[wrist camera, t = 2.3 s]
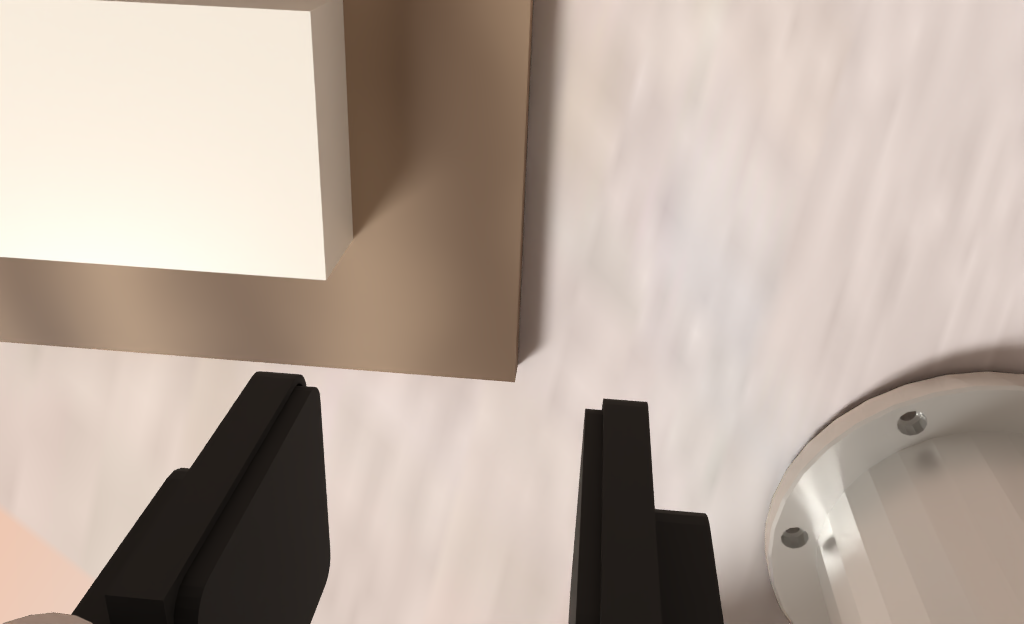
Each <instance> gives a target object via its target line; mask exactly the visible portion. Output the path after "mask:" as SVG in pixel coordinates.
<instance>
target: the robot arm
mask: <svg viewBox="0 0 1024 624" xmlns="http://www.w3.org/2000/svg"><path fill="white" fill-rule="evenodd" d="M765 556H766V561H767V566H768V571H769V576H770V582H771V585H772V587H773V590H774V593H775V595H776V598H777V601H778V603H779V606H780V608H781V610H782V611H783V613H784V614H785V616H786V617H787V619H788V620H789V621H790V623H791V624H1024V374H1013V373H1000V372H975V373H963V374H951V375H943V376H939V377H935V378H931V379H927V380H923V381H918V382H914V383H910V384H906V385H903V386H901V387H898V388H896V389H893V390H891V391H889V392H886V393H884V394H881V395H879V396H876V397H874V398H871V399H869V400H867V401H865V402H864V403H862V404H860V405H859V406H857V407H855V408H854V409H852V410H850V411H849V412H847V413H845V414H844V415H842V416H840V417H839V418H837V419H836V420H834V421H833V422H832V423H831V424H830V425H828V426H827V427H826V428H825V429H824V430H823V431H821V432H820V433H819V434H818V435H817V436H816V437H815V438H813V439H812V440H811V441H810V442H809V443H808V444H807V445H806V446H805V447H804V449H803V450H802V451H801V452H800V454H799V455H798V456H797V457H796V459H795V460H794V461H793V462H792V464H791V465H790V466H789V467H788V469H787V470H786V472H785V474H784V476H783V478H782V480H781V482H780V483H779V485H778V487H777V489H776V491H775V493H774V495H773V497H772V501H771V505H770V508H769V512H768V516H767V520H766V524H765ZM329 567H330V540H329V525H328V509H327V494H326V479H325V464H324V448H323V433H322V418H321V402H320V393H319V390H318V389H317V388H316V387H307V386H306V382H305V379H304V377H303V376H302V375H299V374H287V373H274V372H261V371H259V372H256V373H255V374H254V375H253V376H252V378H251V379H250V381H249V382H248V384H247V385H246V386H245V388H244V389H243V391H242V392H241V394H240V395H239V397H238V398H237V400H236V401H235V403H234V404H233V406H232V407H231V409H230V410H229V412H228V413H227V415H226V416H225V418H224V419H223V420H222V422H221V423H220V425H219V426H218V428H217V429H216V431H215V432H214V434H213V435H212V437H211V438H210V440H209V441H208V443H207V444H206V446H205V447H204V449H203V450H202V451H201V453H200V454H199V456H198V457H197V459H196V460H195V462H194V463H193V465H192V466H191V468H190V469H188V468H180V469H177V470H174V471H173V472H172V473H171V475H170V476H169V477H168V478H167V479H166V480H165V482H164V483H163V485H162V486H161V488H160V489H159V490H158V492H157V493H156V495H155V496H154V498H153V499H152V500H151V502H150V503H149V505H148V506H147V507H146V509H145V510H144V512H143V513H142V515H141V516H140V517H139V519H138V520H137V522H136V523H135V525H134V526H133V527H132V529H131V530H130V532H129V533H128V534H127V536H126V537H125V539H124V540H123V542H122V543H121V544H120V546H119V547H118V549H117V550H116V552H115V553H114V554H113V556H112V557H111V559H110V560H109V562H108V563H107V564H106V566H105V567H104V569H103V570H102V571H101V573H100V574H99V576H98V577H97V579H96V580H95V581H94V583H93V584H92V586H91V587H90V589H89V590H88V591H87V593H86V594H85V596H84V597H83V599H82V600H81V601H80V603H79V604H78V606H77V607H76V609H75V610H74V611H73V613H72V614H71V615H69V614H61V613H46V614H36V615H29V616H25V617H22V618H19V619H15V620H12V621H9V622H5V623H3V624H310V623H311V621H312V618H313V616H314V613H315V610H316V608H317V605H318V603H319V600H320V597H321V595H322V592H323V590H324V587H325V584H326V581H327V578H328V573H329ZM569 624H724V622H723V615H722V608H721V601H720V594H719V587H718V580H717V573H716V566H715V559H714V552H713V545H712V538H711V531H710V525H709V520H708V517H707V515H706V514H705V513H694V512H682V511H671V510H659V509H655V506H654V491H653V475H652V459H651V444H650V428H649V413H648V403H647V402H639V401H627V400H614V399H603V405H602V410H593V409H585V418H584V430H583V443H582V455H581V467H580V479H579V492H578V504H577V516H576V528H575V541H574V553H573V565H572V577H571V591H570V607H569Z"/></svg>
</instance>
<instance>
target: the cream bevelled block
mask: <svg viewBox="0 0 1024 624" xmlns="http://www.w3.org/2000/svg"><path fill="white" fill-rule="evenodd" d="M352 240H353V223H352V200H351V177H350V154H349V131H348V108H347V85H346V62H345V39H344V16H343V0H0V257H9V258H23V259H37V260H51V261H65V262H79V263H93V264H106V265H120V266H134V267H148V268H162V269H176V270H190V271H203V272H217V273H231V274H245V275H259V276H273V277H287V278H300V279H314V280H327V278H328V277H329V275H330V273H331V272H332V270H333V269H334V267H335V266H336V264H337V263H338V261H339V260H340V258H341V257H342V255H343V254H344V252H345V251H346V249H347V248H348V246H349V245H350V243H351V242H352Z"/></svg>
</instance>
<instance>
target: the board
mask: <svg viewBox="0 0 1024 624" xmlns="http://www.w3.org/2000/svg"><path fill="white" fill-rule="evenodd" d="M343 16H344V39H345V62H346V85H347V108H348V131H349V154H350V177H351V200H352V223H353V240H352V242H351V243H350V245H349V246H348V248H347V249H346V251H345V252H344V254H343V255H342V257H341V258H340V260H339V261H338V263H337V264H336V266H335V267H334V269H333V270H332V272H331V273H330V275H329V277H328V278H327V280H314V279H300V278H287V277H273V276H259V275H245V274H231V273H217V272H203V271H190V270H176V269H162V268H148V267H134V266H120V265H106V264H93V263H79V262H65V261H51V260H37V259H23V258H9V257H0V342H11V343H24V344H37V345H49V346H62V347H75V348H87V349H100V350H113V351H126V352H138V353H151V354H164V355H176V356H189V357H202V358H215V359H227V360H240V361H253V362H265V363H278V364H291V365H304V366H316V367H329V368H342V369H354V370H367V371H380V372H393V373H405V374H418V375H431V376H443V377H456V378H469V379H482V380H494V381H507V382H515V378H516V372H517V367H518V343H519V320H520V297H521V273H522V250H523V227H524V204H525V180H526V157H527V134H528V111H529V87H530V64H531V41H532V18H533V0H343Z"/></svg>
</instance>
